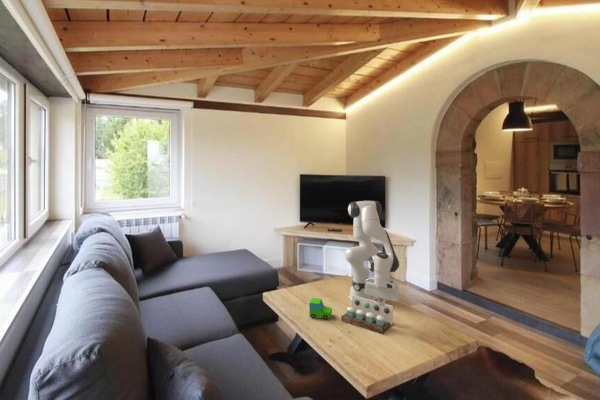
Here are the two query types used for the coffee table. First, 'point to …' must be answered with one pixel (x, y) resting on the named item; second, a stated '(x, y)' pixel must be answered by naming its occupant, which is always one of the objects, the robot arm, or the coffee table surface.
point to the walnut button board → (365, 324)
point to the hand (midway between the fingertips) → (381, 305)
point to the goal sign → (373, 308)
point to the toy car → (319, 309)
